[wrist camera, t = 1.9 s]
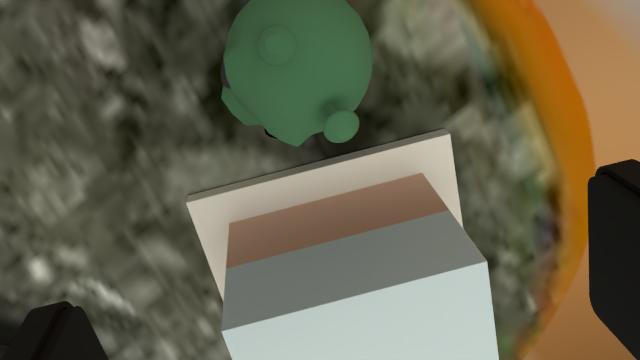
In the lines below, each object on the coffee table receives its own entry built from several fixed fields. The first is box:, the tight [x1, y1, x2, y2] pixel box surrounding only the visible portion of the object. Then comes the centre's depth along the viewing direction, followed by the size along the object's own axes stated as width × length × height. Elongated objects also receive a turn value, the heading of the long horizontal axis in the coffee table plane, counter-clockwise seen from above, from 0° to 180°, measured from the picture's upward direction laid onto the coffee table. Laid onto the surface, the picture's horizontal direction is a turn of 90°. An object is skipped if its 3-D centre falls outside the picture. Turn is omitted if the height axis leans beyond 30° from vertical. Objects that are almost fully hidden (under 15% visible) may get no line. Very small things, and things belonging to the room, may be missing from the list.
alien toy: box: [221, 0, 373, 147], centre depth 26 cm, size 7×8×10 cm
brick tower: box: [186, 129, 499, 360], centre depth 32 cm, size 16×16×11 cm
